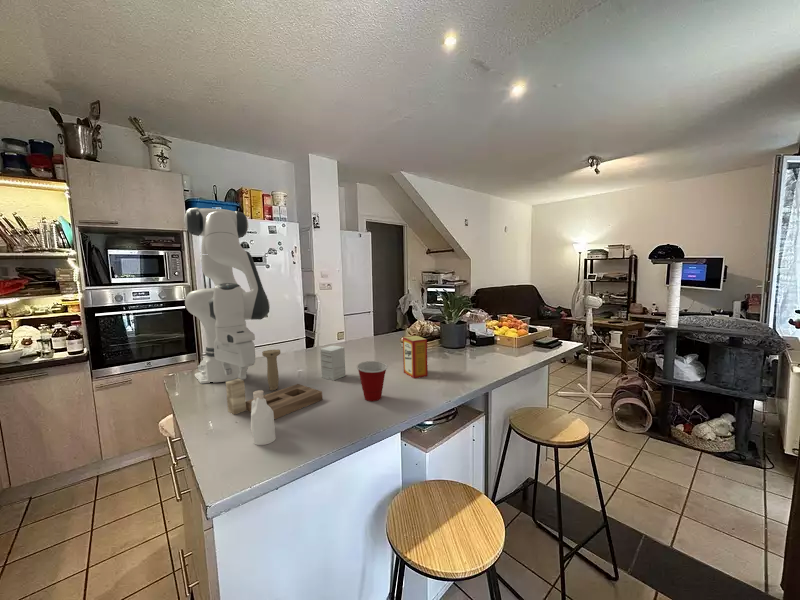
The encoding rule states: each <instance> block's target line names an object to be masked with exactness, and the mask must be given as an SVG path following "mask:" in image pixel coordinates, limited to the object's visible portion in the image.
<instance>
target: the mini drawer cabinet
mask: <svg viewBox="0 0 800 600" xmlns="http://www.w3.org/2000/svg"><path fill="white" fill-rule="evenodd" d="M319 350H320V351H319V352H320V366H321V369H320V370H321V371H320V372H321V378H323V379H325V380H330V381H333V380H334V381H335V380H339V379H340V378H342V377H346V375H347V374H346V358H345V357H346V355H345V353H346V352H345V347H344V346H338V345H329V346H326V347H322V348H320V349H319Z"/></svg>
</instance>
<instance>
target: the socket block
mask: <svg viewBox="0 0 800 600" xmlns="http://www.w3.org/2000/svg"><path fill="white" fill-rule="evenodd" d="M263 397H264V399H266V403H267V405H268V406H269V407H270V408H271V409H272V410H273V413H274V419H275V420H277V419H280V418H282V417H285V416H286V414H287V415H288V414H291V412H292V413H293V412H296V411H299V410H300V409H303V407H304V408H306V407H309V406H311V405H313V404H316V403H318V402H320V400H321V401H323V390H318V389H316V388H314V387H313V388H312V387H309V386H306V385H303V384H300V383H297V384H294V385H290V386H288V387H284V388H282V389H277V390H274V391H273V392H270V393H269V392H268V393H266V394H264V396H263ZM253 400H254V398H251V399H249V400H246V411H247V412H248V413H251V406H252V401H253ZM308 405H309V406H308Z"/></svg>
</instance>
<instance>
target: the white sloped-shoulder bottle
mask: <svg viewBox="0 0 800 600" xmlns="http://www.w3.org/2000/svg"><path fill="white" fill-rule="evenodd" d="M251 423H252V431H251V434H252V439H253V440H252V441H253V444H254V445H255V446H265V445H269V444H271V443H273V442H274V441H275V440H276V427H275V420H274V413H273V410H272V409H271V408H270V407H269V406H268V405H267V403H265V402H264V401H262V400H261V399H260V398H257V399H256V404H255V407H254V409H253V410H252V413H251V412H250V424H251Z"/></svg>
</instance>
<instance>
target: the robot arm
mask: <svg viewBox="0 0 800 600" xmlns="http://www.w3.org/2000/svg"><path fill="white" fill-rule="evenodd" d="M183 223H184V227H185V229H186V231H187V232H188V233H189V234H190V235H193V236H196V237H200V236H202V238H201V246H200V247H201V250H200V251H201V252H200V253H201V256H200V257H201V272H202V274H203V275H204V276H205V277H206V278H208V279H210V280H211V281H212V282H213V284H214V287H213V288H212V287H211V288H210V287H209V288H208V287H207V288H200V289H196V290H191V291H189V293H187V295H186V297H185V298H184V299H185V300H184V305H185V308H186V310H187V311H188V313H190V315H193V316H195V317H196V318H197V319H198V320H199V322H201V325H202V326H203V328H204V331H205V338H206V347H205V356H204V357H203V359H201V361H200V363H199V365H197V367H196V368H197V371H198V372H196V373H194V377H195V378H196V379H198V380H197V381H198V382H199V384H209V383H210V382H213V383H222V382H223V383H224V382H227V381H231V380H235V379H241V380H243V381H244V380H246V379H247V371H248V368H249V367H251V366H252V367H253V366H254V365H255V363H256V348H255V343H254V341H255V339H256V335H255V333H254V332H252V330H250V329H249V327H247V320H251V321H252V320H253V321H254V320H257V321H258V320H259V321H260V320H263V319H264V318H265V317H266V316H268V314H269V313H270V305H271V304H270V301H269V298H268V295H267V294H266V292H265V289H264V286H263V283H262V280H261V278H260V275H259V272H258V269H257V266H256V264H255V262H254V259H253V256H252V255H251V253H250V252H249V251H247V250H245V249H244V248H243V247H242V245H241V243H240V240H239V239H241V238H243V237H245V236H246V235H247V232H248V231H249V221H248V219H247V216H246V215H245V213H243V212H241V211H238V210H235V211H234V210H229V209H223V208H210V207H209V208H207V207H205V208H204V207H203V208H199V207H191V208H188V209H187V210H186V212H185V214H184V216H183ZM233 268H234V269H237V270H239V271H240V272H242V273H243V274H244V275H245V278H246V281H247V284H248V287H249V289H250V291H247V292H246V291H245V289H243V288H242V287H241V285H240V284H238V282H237V280H236V279H235V275H234V273H233Z"/></svg>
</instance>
